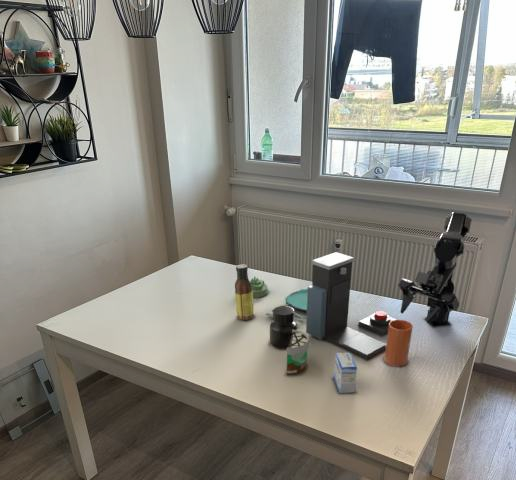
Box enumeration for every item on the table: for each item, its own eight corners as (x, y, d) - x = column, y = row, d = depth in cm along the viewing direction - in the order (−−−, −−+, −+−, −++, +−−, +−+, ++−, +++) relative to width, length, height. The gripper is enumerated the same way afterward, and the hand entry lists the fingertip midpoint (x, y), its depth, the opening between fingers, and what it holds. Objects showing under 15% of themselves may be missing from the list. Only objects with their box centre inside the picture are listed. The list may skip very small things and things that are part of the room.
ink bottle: (291, 334, 167) (291, 302, 161) (302, 346, 160) (303, 313, 154) (264, 339, 164) (264, 307, 158) (274, 352, 157) (274, 318, 151)
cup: (400, 353, 155) (406, 318, 148) (410, 365, 149) (416, 328, 143) (380, 356, 153) (385, 321, 147) (390, 367, 148) (395, 331, 141)
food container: (306, 379, 143) (307, 350, 138) (286, 377, 144) (286, 348, 139) (311, 358, 153) (312, 330, 148) (292, 356, 154) (292, 328, 149)
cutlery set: (348, 303, 188) (348, 297, 187) (298, 330, 170) (298, 324, 168) (307, 289, 200) (308, 284, 199) (257, 313, 182) (257, 308, 180)
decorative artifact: (272, 292, 198) (256, 285, 205) (272, 276, 195) (255, 270, 201) (254, 299, 192) (238, 292, 199) (253, 283, 189) (237, 276, 195)
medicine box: (333, 378, 143) (335, 352, 139) (348, 377, 144) (350, 351, 139) (339, 393, 136) (341, 367, 132) (355, 392, 137) (357, 366, 132)
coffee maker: (331, 322, 175) (336, 251, 162) (388, 347, 158) (399, 271, 145) (304, 334, 167) (307, 261, 154) (361, 362, 150) (369, 284, 137)
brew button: (379, 314, 172) (379, 309, 171) (388, 318, 170) (389, 313, 169) (372, 317, 170) (372, 313, 169) (381, 321, 167) (382, 317, 166)
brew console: (377, 316, 178) (378, 307, 176) (400, 325, 171) (402, 316, 169) (358, 326, 172) (359, 317, 170) (381, 336, 165) (382, 326, 163)
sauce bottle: (256, 314, 181) (254, 263, 171) (250, 322, 176) (248, 270, 166) (239, 312, 183) (237, 262, 173) (233, 319, 178) (231, 268, 168)
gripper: (405, 253, 149) (379, 296, 149) (462, 269, 137) (433, 316, 136) (416, 271, 158) (392, 312, 157) (470, 288, 145) (444, 332, 145)
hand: (414, 317), depth 149 cm, fingers open, 9 cm apart
